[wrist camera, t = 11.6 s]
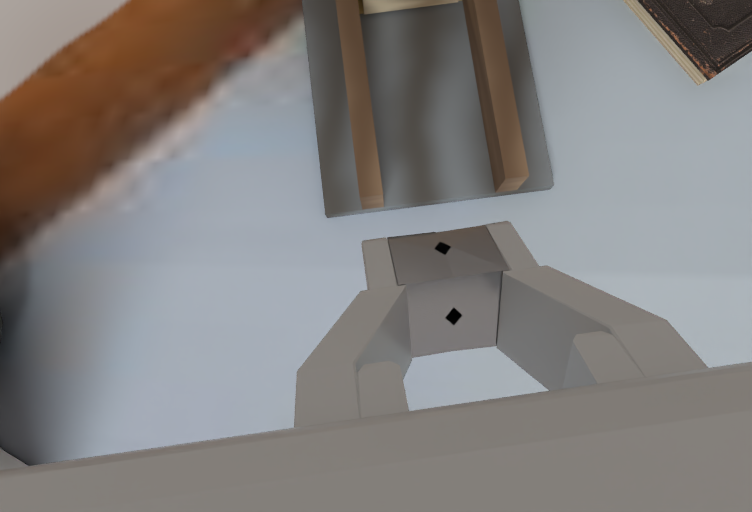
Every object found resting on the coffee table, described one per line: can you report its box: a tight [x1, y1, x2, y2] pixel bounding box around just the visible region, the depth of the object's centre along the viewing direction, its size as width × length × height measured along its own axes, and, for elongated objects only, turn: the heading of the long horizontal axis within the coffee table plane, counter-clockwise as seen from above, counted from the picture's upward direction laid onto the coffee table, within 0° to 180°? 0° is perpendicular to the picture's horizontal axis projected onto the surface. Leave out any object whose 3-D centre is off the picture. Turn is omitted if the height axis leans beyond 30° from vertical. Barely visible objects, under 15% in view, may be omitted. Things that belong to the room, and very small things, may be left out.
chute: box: [302, 0, 554, 218], centre depth 34 cm, size 16×24×4 cm, turn 7°
